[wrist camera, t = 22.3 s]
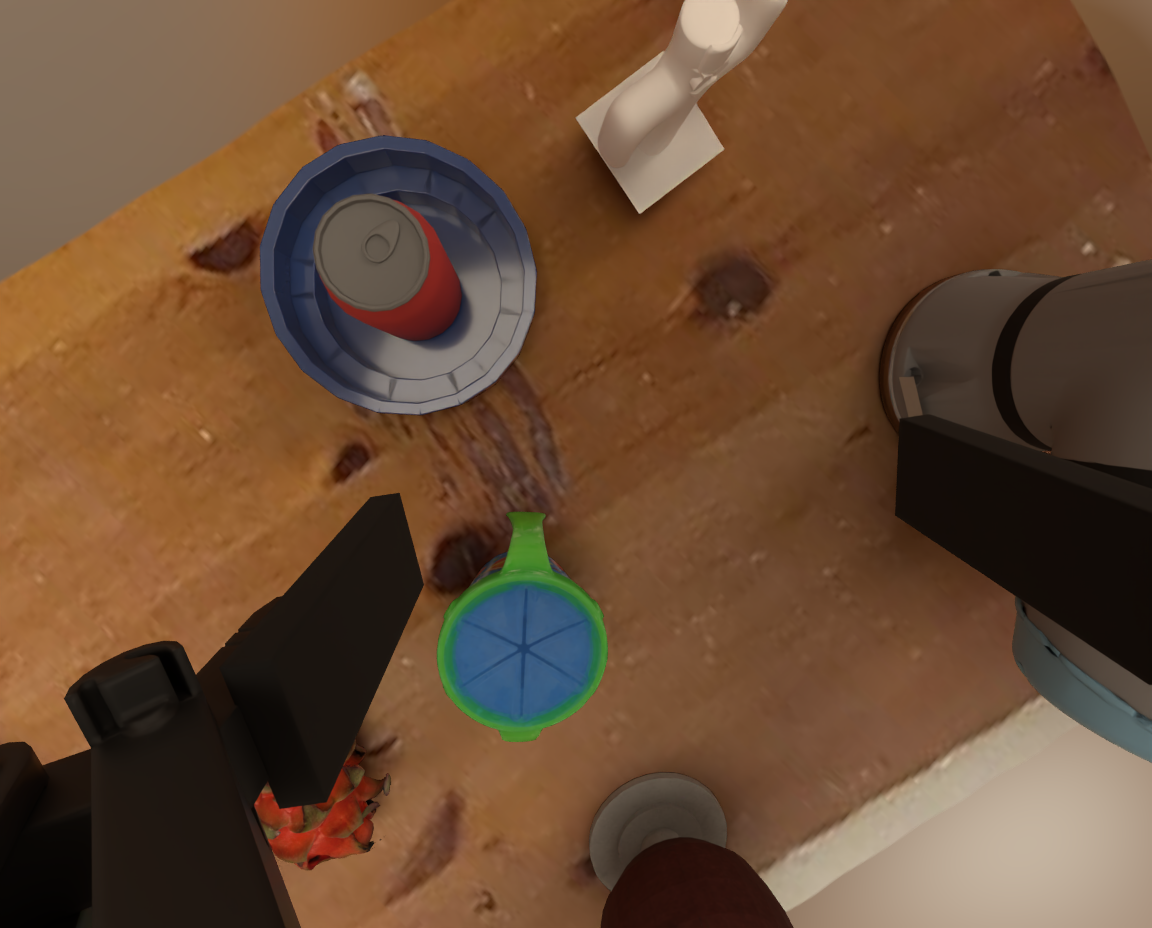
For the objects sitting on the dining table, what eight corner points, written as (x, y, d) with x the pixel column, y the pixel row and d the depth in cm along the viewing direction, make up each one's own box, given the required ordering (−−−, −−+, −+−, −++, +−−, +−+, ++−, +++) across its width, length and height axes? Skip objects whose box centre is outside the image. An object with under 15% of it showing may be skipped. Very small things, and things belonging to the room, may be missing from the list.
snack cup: (570, 688, 44) (587, 776, 34) (441, 677, 43) (420, 766, 33) (602, 506, 42) (629, 543, 32) (468, 488, 41) (453, 520, 31)
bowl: (578, 283, 40) (588, 266, 34) (439, 455, 40) (427, 466, 35) (394, 119, 37) (373, 73, 31) (246, 308, 38) (202, 295, 32)
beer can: (481, 287, 39) (466, 243, 27) (426, 360, 39) (388, 349, 27) (404, 225, 37) (353, 151, 26) (348, 301, 38) (272, 262, 26)
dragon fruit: (297, 680, 43) (387, 773, 47) (193, 777, 38) (303, 871, 42) (330, 706, 37) (431, 810, 41) (210, 826, 32) (338, 932, 36)
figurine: (557, 152, 38) (585, 5, 24) (661, 72, 38) (754, -123, 24) (616, 238, 40) (677, 151, 25) (717, 161, 40) (837, 28, 25)
